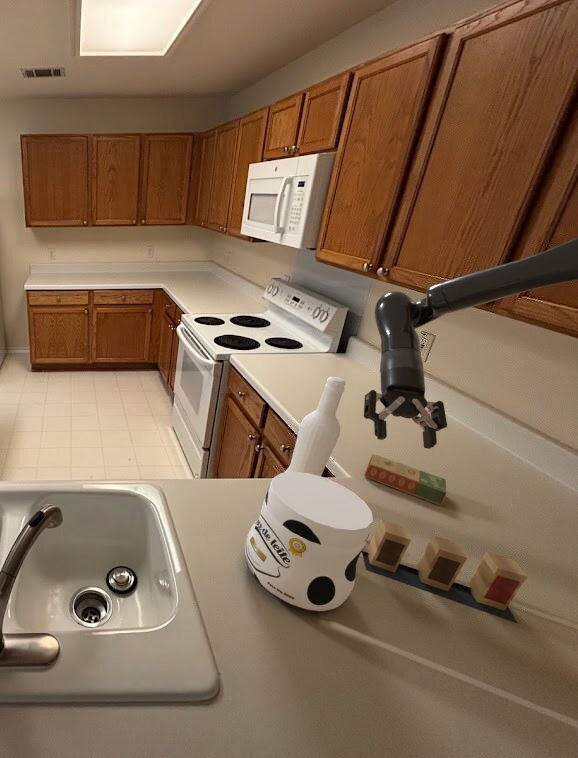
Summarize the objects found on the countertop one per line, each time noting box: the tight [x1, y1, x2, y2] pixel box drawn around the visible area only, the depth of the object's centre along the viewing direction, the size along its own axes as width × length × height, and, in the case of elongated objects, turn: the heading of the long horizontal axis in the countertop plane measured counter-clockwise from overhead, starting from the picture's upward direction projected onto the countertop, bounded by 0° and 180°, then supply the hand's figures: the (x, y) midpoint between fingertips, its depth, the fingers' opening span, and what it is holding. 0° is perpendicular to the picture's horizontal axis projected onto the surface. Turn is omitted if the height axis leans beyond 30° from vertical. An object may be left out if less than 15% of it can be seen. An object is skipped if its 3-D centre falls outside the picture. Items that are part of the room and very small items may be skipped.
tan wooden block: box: [367, 519, 412, 573], centre depth 78 cm, size 4×4×8 cm
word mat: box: [361, 550, 519, 625], centre depth 77 cm, size 22×8×1 cm, turn 64°
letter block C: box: [467, 552, 528, 610], centre depth 72 cm, size 4×4×8 cm
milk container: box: [244, 471, 374, 612], centre depth 72 cm, size 17×17×18 cm
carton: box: [364, 453, 448, 507], centre depth 106 cm, size 8×16×4 cm, turn 50°
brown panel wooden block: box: [415, 534, 468, 591], centre depth 75 cm, size 4×4×8 cm
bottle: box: [283, 376, 346, 477], centre depth 95 cm, size 8×8×30 cm
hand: (405, 443), depth 85 cm, fingers open, 8 cm apart
